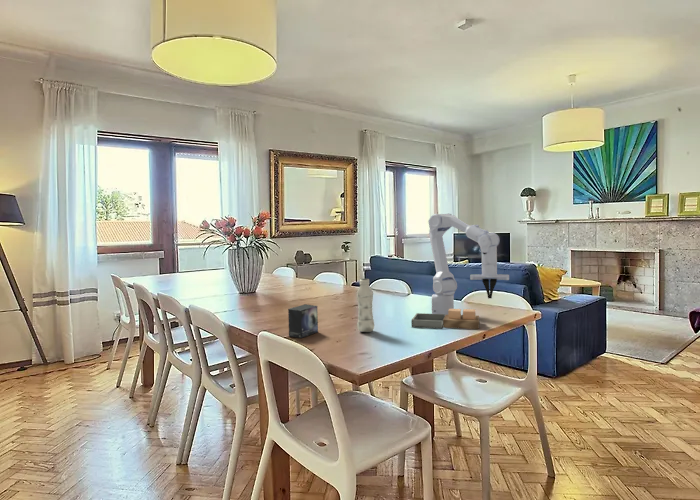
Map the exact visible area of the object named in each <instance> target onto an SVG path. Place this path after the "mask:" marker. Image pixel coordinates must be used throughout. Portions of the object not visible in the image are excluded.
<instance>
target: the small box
mask: <svg viewBox="0 0 700 500" xmlns="http://www.w3.org/2000/svg"><path fill="white" fill-rule="evenodd" d="M287 312H288V337H290V338H297V339H302V338H306V337H308V336H311V335H314V334H316V333H319V327H318V326H319V324H318V323H319V320H318V316H319V314H318V305H314V304H306V303H305V304H301V305H297V306H294V307H290V308H288V311H287Z"/></svg>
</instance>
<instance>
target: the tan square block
mask: <svg viewBox="0 0 700 500" xmlns="http://www.w3.org/2000/svg"><path fill="white" fill-rule="evenodd" d="M461 315H462V309H461V308H454V309H449V311H448V319H461Z"/></svg>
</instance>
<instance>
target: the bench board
mask: <svg viewBox="0 0 700 500" xmlns="http://www.w3.org/2000/svg"><path fill="white" fill-rule="evenodd" d="M479 327H480V315H476V318H475V319H463V314H461V319H448V315H445V317H444V319H443V326H442V328H444V329H445V328H446V329H447V328H448V329H463V330H464V329H467V330H479Z"/></svg>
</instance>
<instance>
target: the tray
mask: <svg viewBox="0 0 700 500" xmlns="http://www.w3.org/2000/svg"><path fill="white" fill-rule="evenodd" d="M444 317H445V314H432V313H425V312H424V313H420V312H416V313H415V315H414V316H413V318H411V328H421V329H423V328H424V329H442V328H443V319H444Z"/></svg>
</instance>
